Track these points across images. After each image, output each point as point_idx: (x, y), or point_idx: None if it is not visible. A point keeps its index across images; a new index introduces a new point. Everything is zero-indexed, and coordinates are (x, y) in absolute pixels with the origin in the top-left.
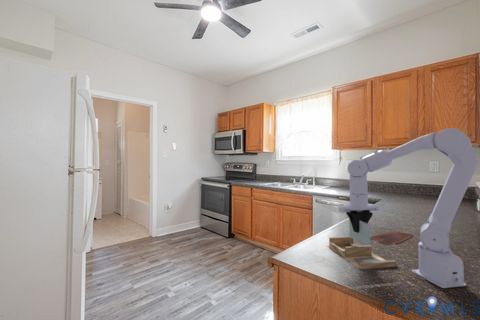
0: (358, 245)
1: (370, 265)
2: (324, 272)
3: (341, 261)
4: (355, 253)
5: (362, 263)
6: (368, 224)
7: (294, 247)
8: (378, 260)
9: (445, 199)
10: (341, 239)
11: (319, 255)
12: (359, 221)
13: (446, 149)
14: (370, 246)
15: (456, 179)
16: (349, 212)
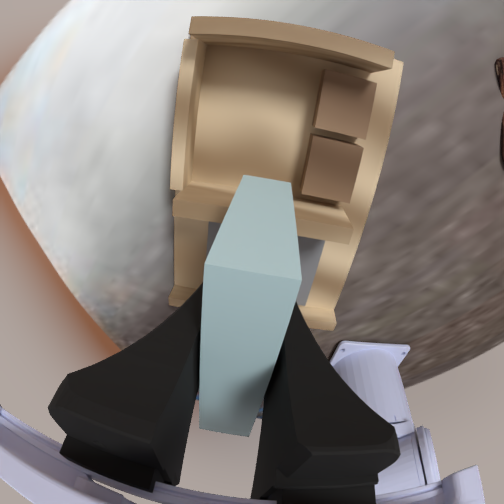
0: (355, 132)
1: None
2: (63, 252)
3: (154, 202)
4: None
5: (180, 303)
6: (237, 432)
7: (49, 24)
8: (308, 272)
9: None
10: (285, 44)
11: (96, 120)
12: (191, 413)
13: None
14: (341, 242)
15: None
16: (77, 441)
